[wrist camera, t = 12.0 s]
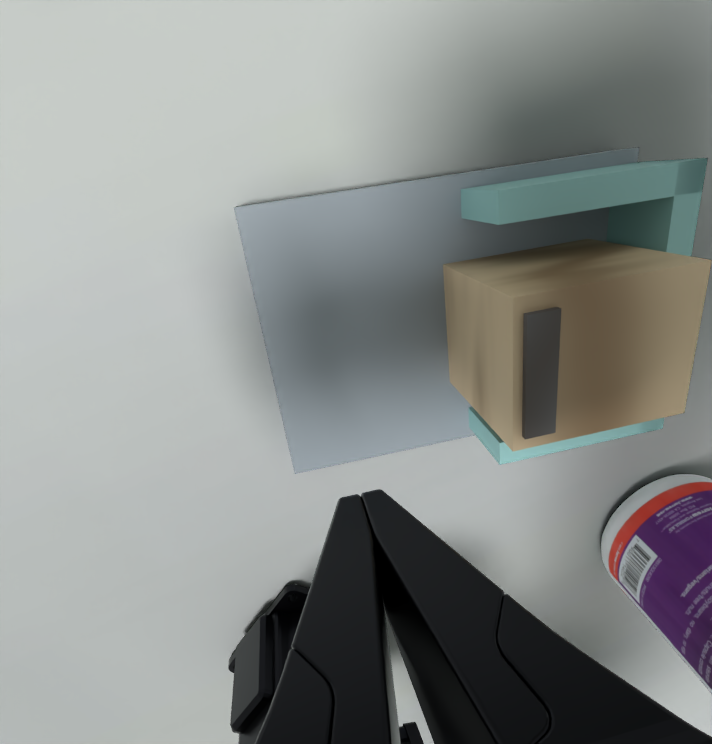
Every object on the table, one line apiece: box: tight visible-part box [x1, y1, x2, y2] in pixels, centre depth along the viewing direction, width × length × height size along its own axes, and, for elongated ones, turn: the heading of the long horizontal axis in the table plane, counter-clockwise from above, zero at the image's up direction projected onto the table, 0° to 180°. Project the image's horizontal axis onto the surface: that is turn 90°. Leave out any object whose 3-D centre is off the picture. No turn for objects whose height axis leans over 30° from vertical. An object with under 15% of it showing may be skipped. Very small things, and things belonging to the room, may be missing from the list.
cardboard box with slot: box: [443, 239, 712, 451], centre depth 16 cm, size 6×5×6 cm
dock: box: [234, 147, 708, 474], centre depth 17 cm, size 15×11×4 cm
